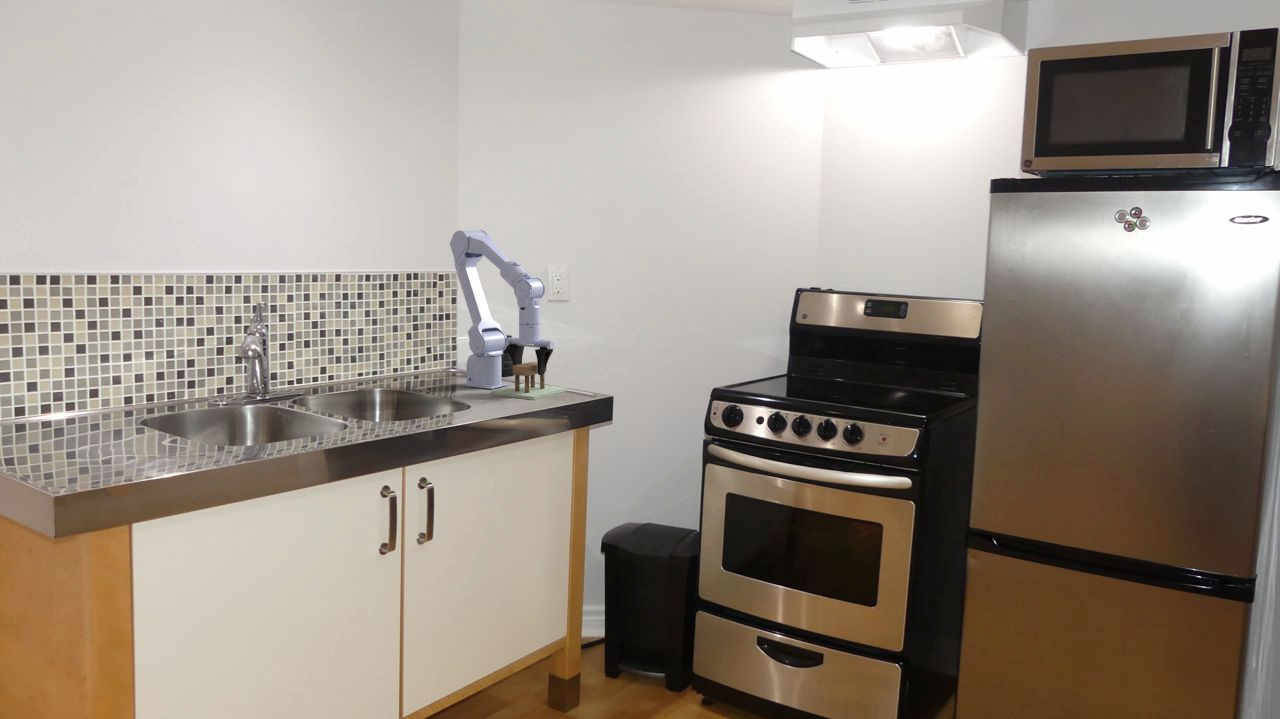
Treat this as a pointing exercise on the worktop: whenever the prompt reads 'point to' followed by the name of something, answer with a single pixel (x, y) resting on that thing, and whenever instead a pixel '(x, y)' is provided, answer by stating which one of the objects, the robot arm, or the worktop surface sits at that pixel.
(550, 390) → the sage board
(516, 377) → the walnut stool
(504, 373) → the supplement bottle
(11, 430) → the worktop surface
